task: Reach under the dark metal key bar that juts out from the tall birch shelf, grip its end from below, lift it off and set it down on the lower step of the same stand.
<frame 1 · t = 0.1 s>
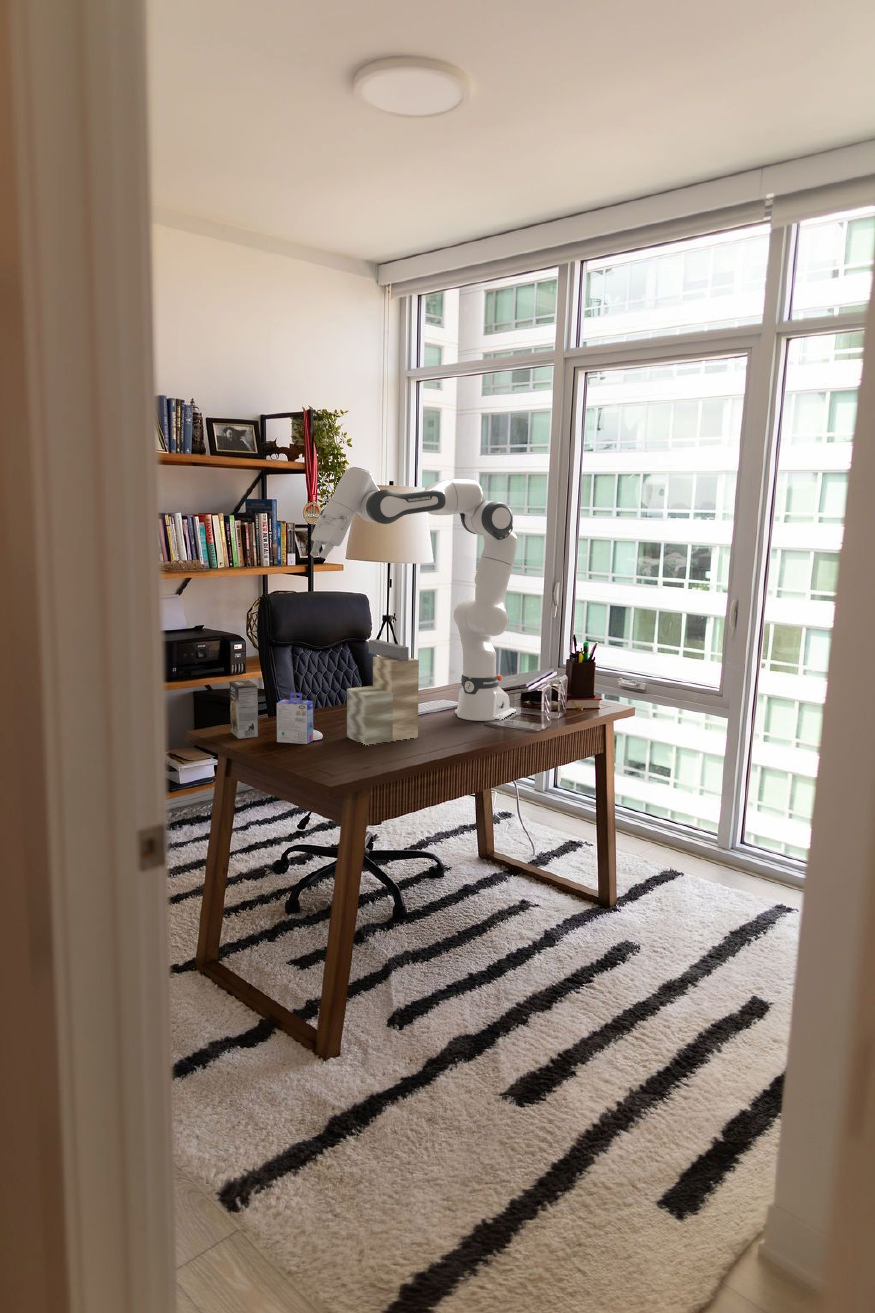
hand: (317, 556, 269), 54 cm above the table, tool tilted 30°, fingers open, 8 cm apart
coffee box: (244, 735, 273), on the table
key bar: (388, 656, 274), point 24 cm above the table, touching stepped stand
ink cartridge box: (295, 742, 266), on the table
stepped stand: (382, 737, 272), on the table
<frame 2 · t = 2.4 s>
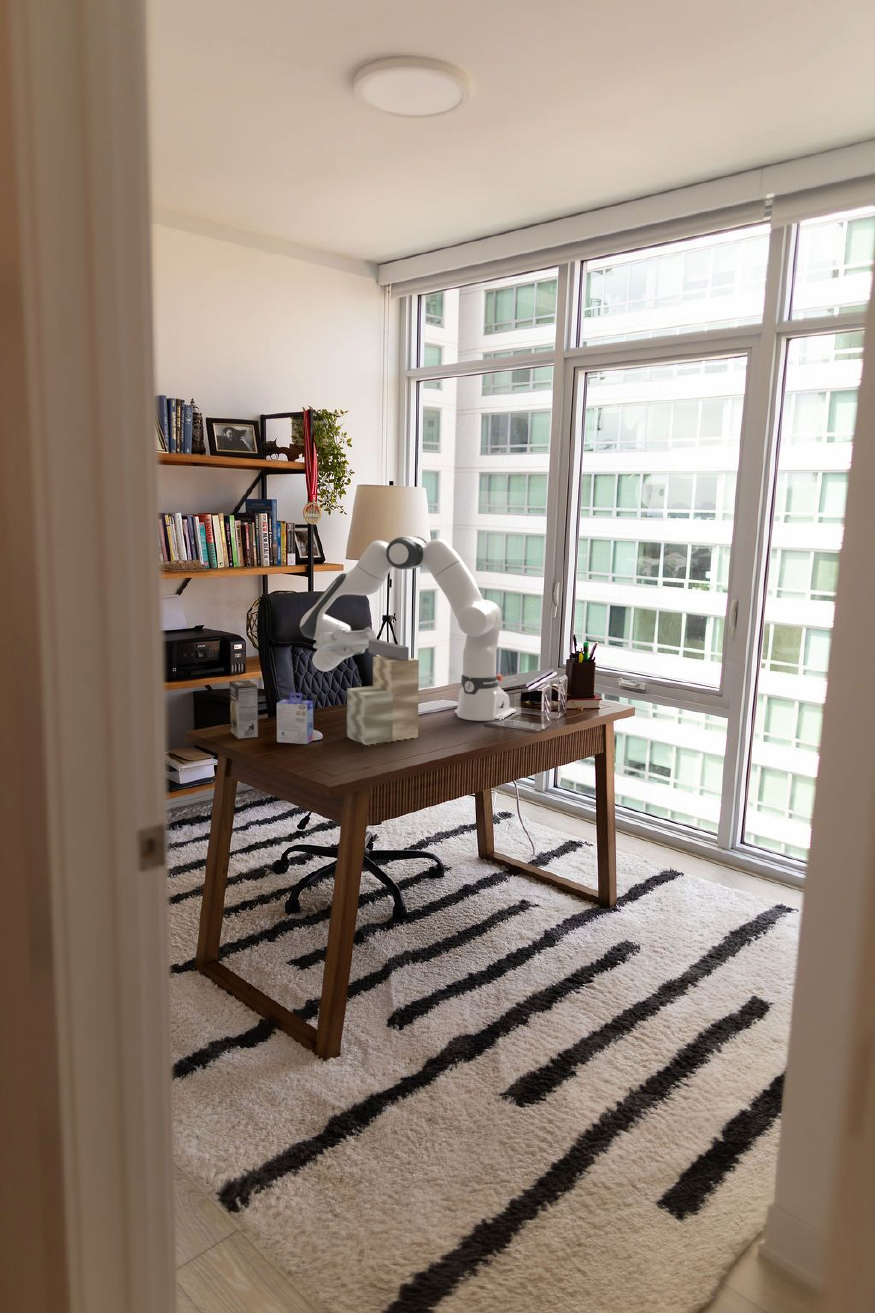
hand: (356, 630, 290), 30 cm above the table, tool pointing upward, fingers open, 8 cm apart
nothing on the table moved.
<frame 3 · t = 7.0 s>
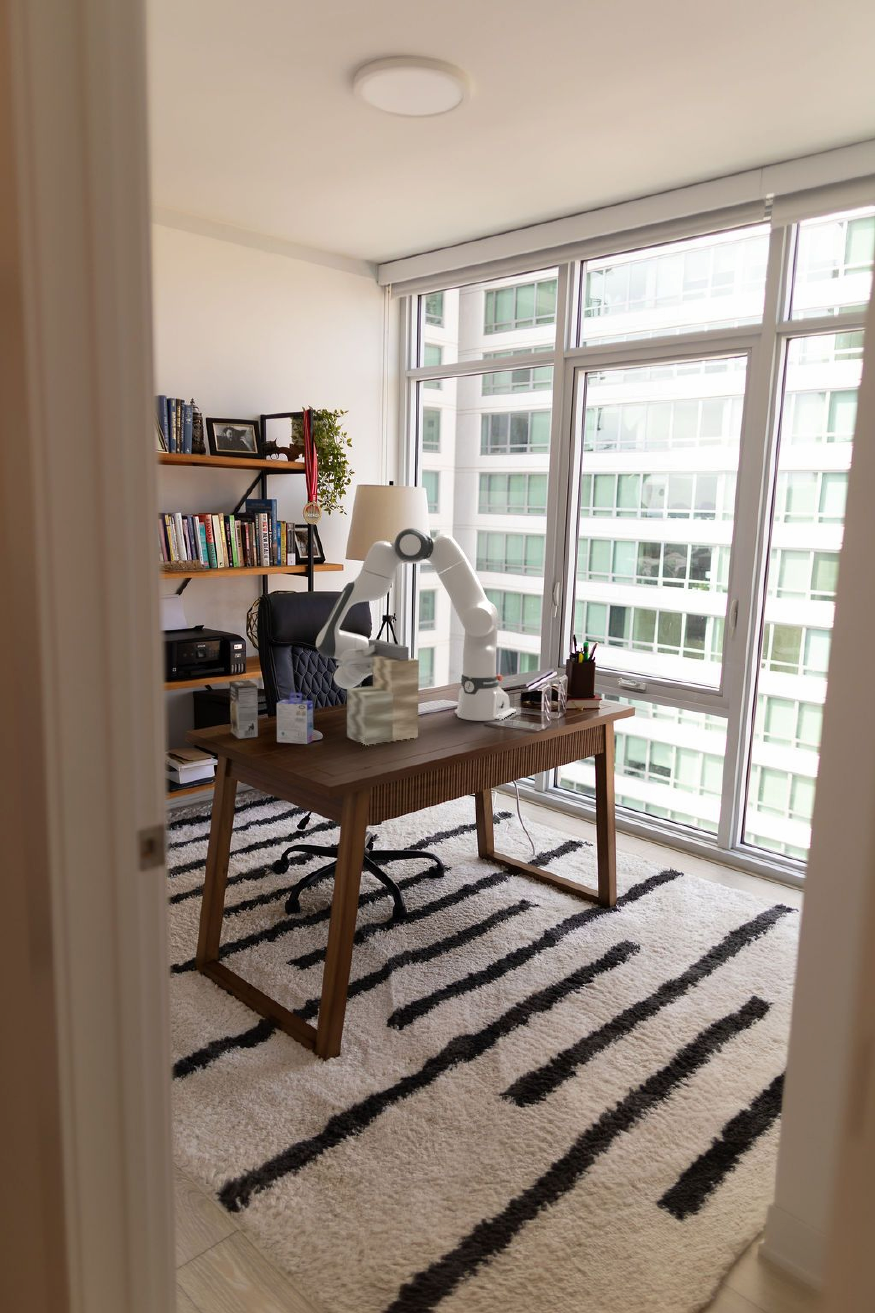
hand: (381, 646, 277), 26 cm above the table, tool pointing upward, fingers closed on key bar, 3 cm apart
key bar: (388, 656, 274), point 24 cm above the table, touching gripper, stepped stand
everything else where it was.
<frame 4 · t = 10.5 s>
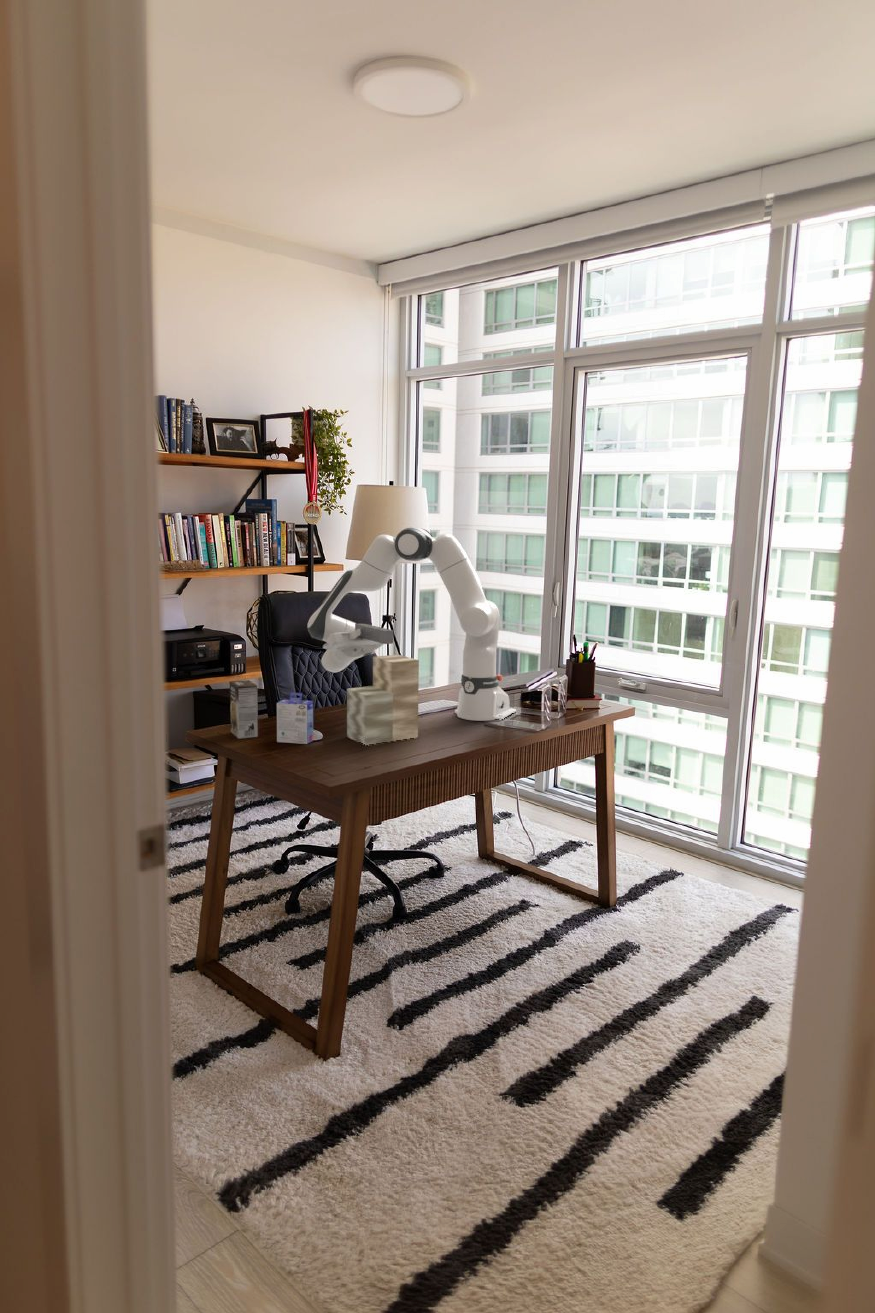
hand: (367, 630, 284), 31 cm above the table, tool pointing upward, fingers closed on key bar, 3 cm apart
key bar: (373, 639, 281), point 28 cm above the table, touching gripper
everything else where it was.
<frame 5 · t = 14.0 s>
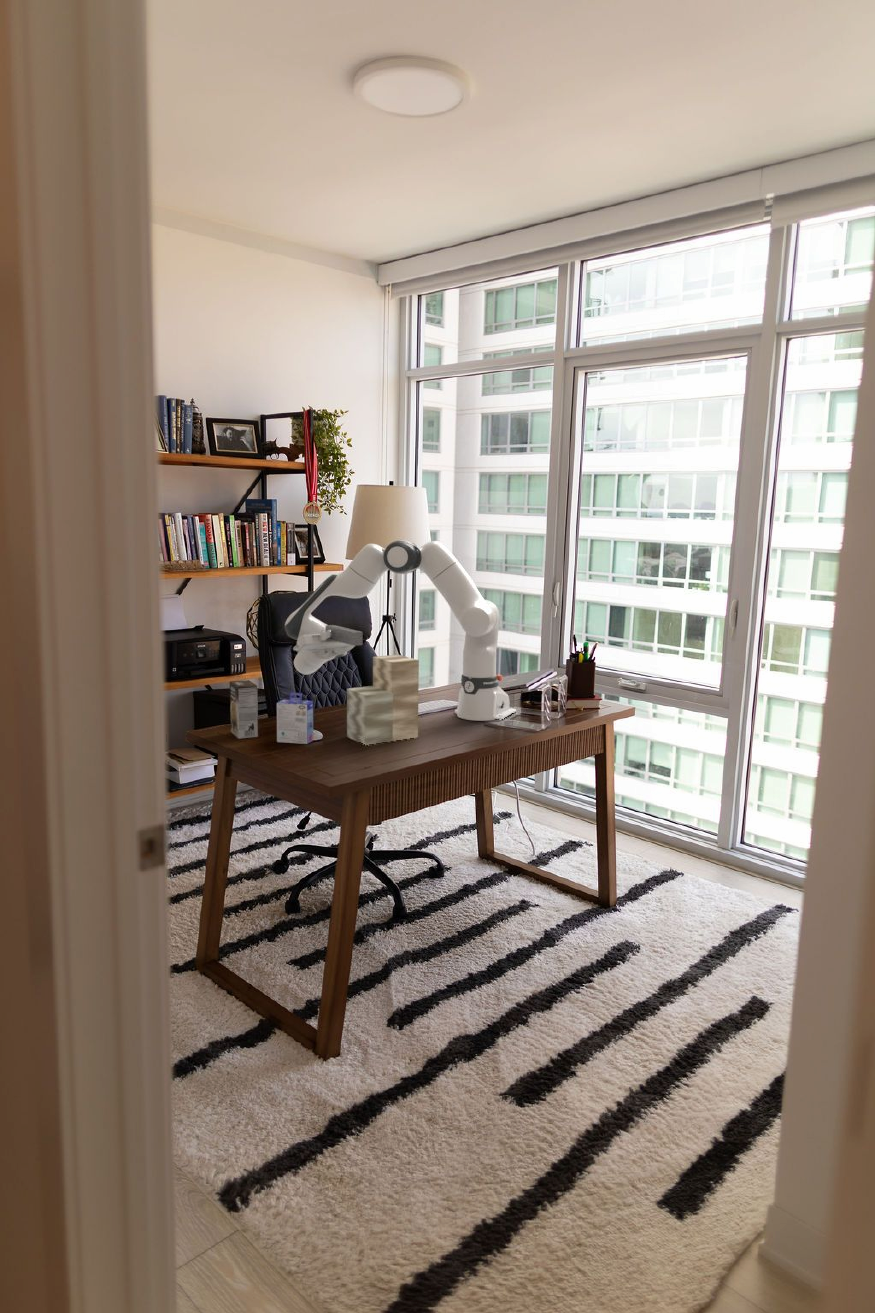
hand: (337, 631, 282), 30 cm above the table, tool pointing upward, fingers closed on key bar, 3 cm apart
key bar: (343, 641, 279), point 28 cm above the table, touching gripper
everything else where it was.
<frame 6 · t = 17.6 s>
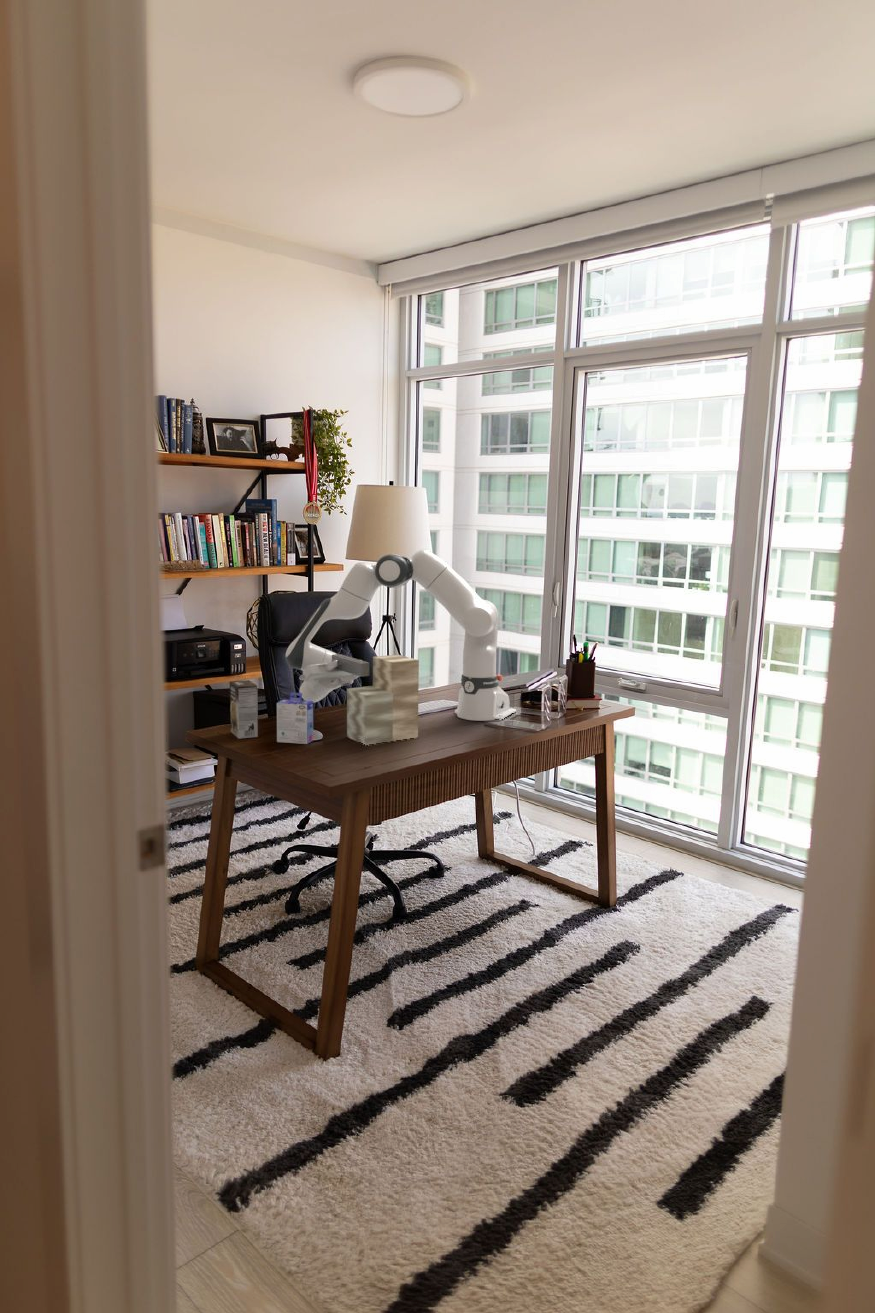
hand: (343, 661, 280), 21 cm above the table, tool pointing upward, fingers closed on key bar, 3 cm apart
key bar: (350, 671, 277), point 19 cm above the table, touching gripper
everything else where it was.
when the fingers open (19 cm above the table, at t = 21.2 s): key bar drops 1 cm, resting on stepped stand.
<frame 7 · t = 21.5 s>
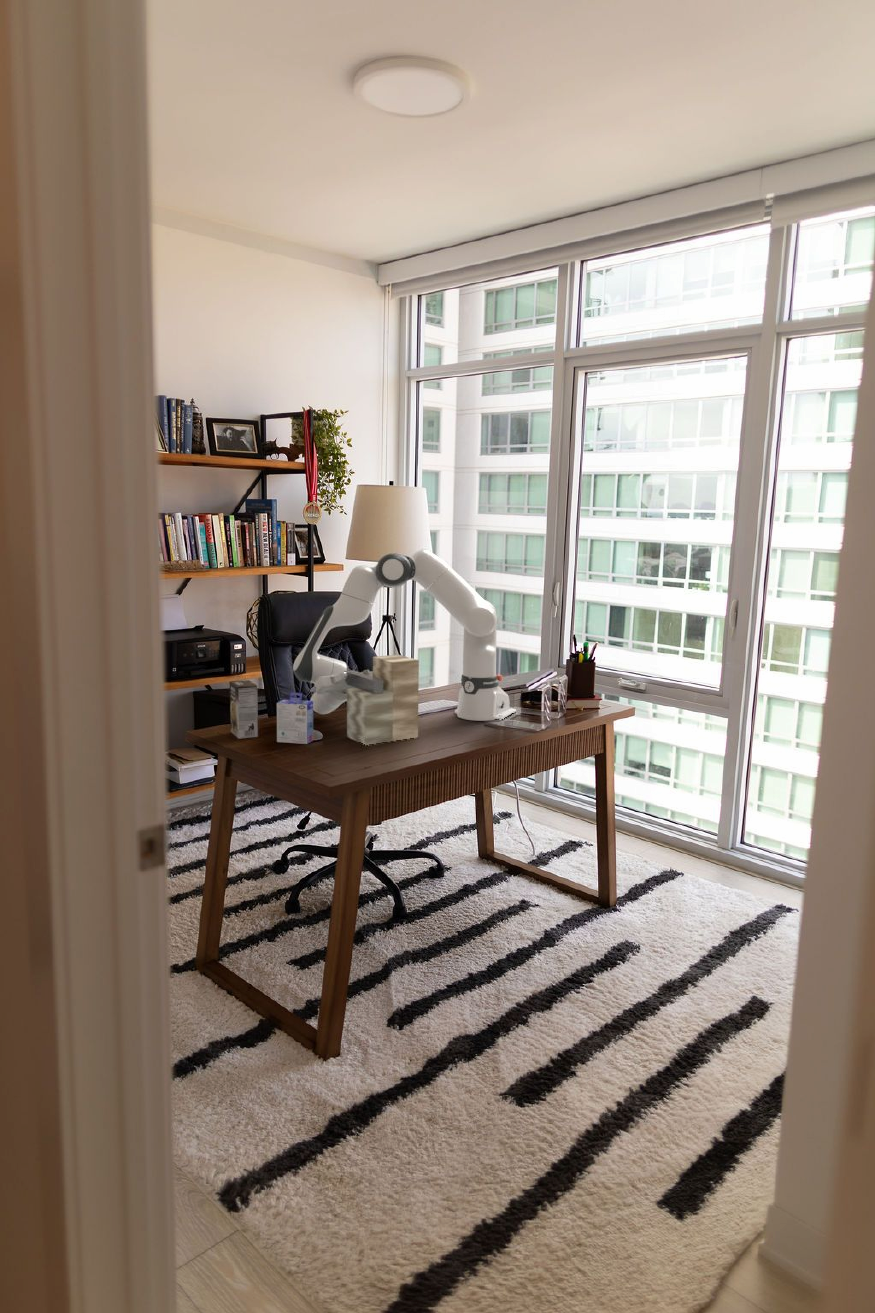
hand: (356, 673, 273), 19 cm above the table, tool pointing upward, fingers open, 6 cm apart
key bar: (363, 688, 270), point 15 cm above the table, touching stepped stand
everything else where it was.
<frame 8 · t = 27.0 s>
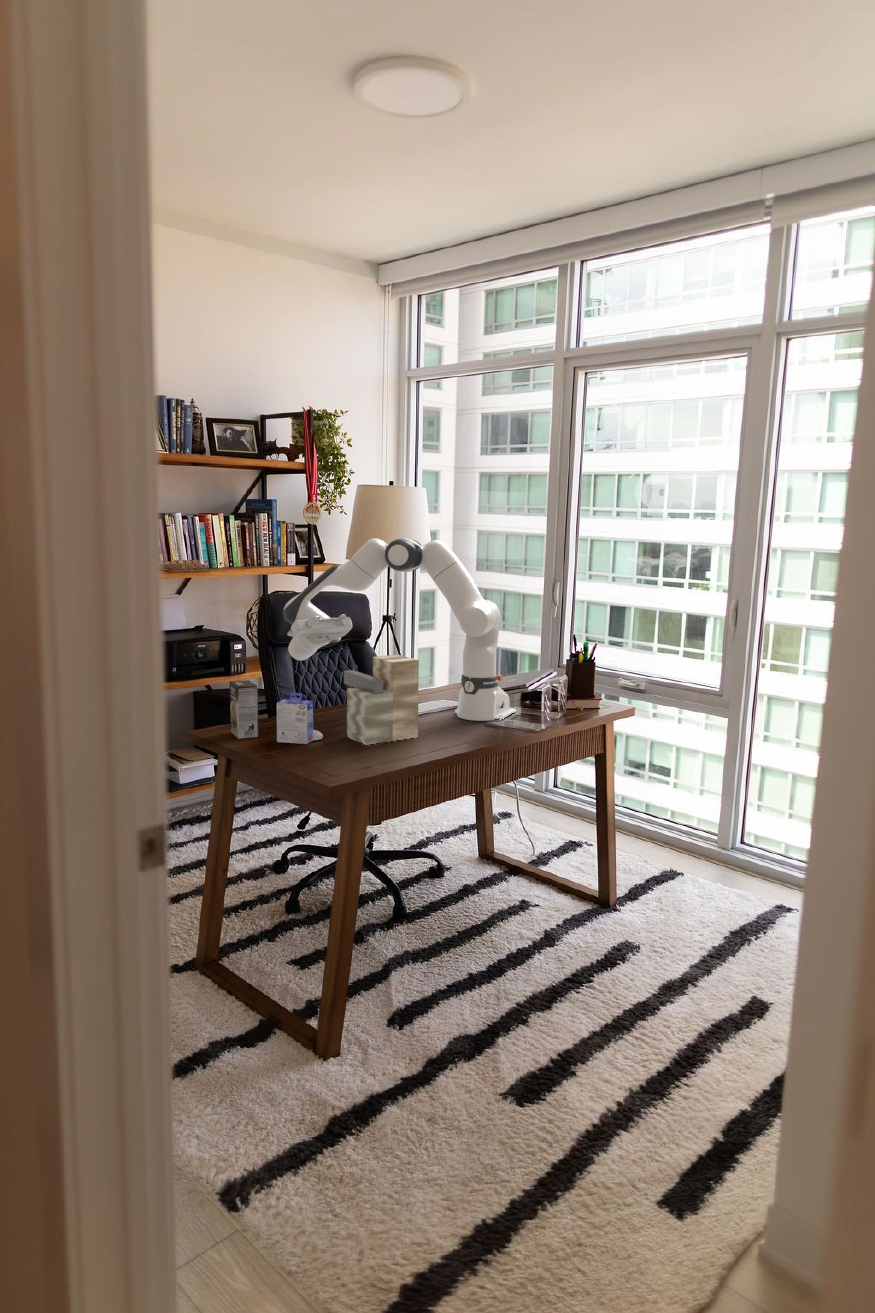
hand: (330, 617, 285), 34 cm above the table, tool pointing upward, fingers open, 8 cm apart
nothing on the table moved.
at the end: key bar inside the target area (0.2 cm from its centre), point 15.0 cm above the table; the gripper is holding nothing; key bar tilted 0° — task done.
